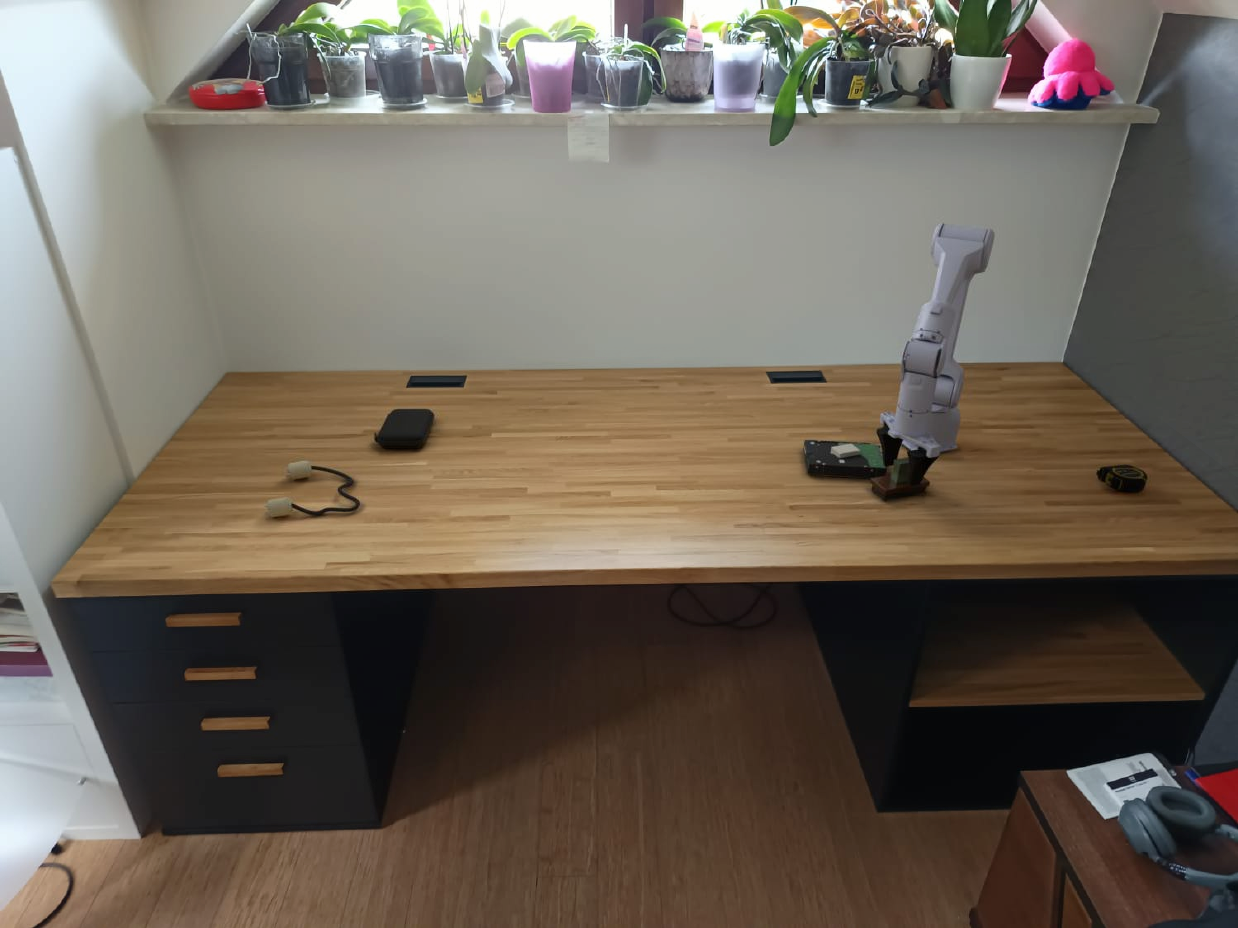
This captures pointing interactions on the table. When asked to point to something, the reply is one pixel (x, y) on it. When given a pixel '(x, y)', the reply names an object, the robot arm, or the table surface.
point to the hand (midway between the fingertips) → (901, 474)
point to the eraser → (845, 450)
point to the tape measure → (1123, 478)
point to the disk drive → (843, 460)
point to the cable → (301, 471)
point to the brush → (897, 483)
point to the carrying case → (405, 428)
